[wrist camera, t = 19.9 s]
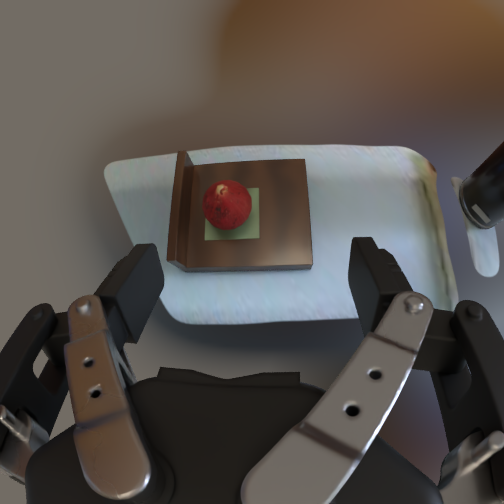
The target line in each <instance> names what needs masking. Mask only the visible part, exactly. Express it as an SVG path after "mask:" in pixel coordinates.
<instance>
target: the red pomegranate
mask: <svg viewBox="0 0 504 504" xmlns="http://www.w3.org/2000/svg"><path fill="white" fill-rule="evenodd" d="M202 209H203V212H204V215H205V218H206V219H207V220H208V221H209V222H210V223H211V224H212V225H213V226H214V227H216V228H219V229H221V230H232V229H235V228H237V227H239V226H241V225H242V224H243V223H244V222H245V221H246V220H247V219H248V217H249V215H250V212H251V210H252V198H251V196H250V194H249V192H248V190H247V189H246V188H245V187H244V186H243V185H241V184H240V183H238V182H236V181H232V180H222V181H219V182H216V183H214V184H212V185H211V186H210V187H209V188H208V189H207V190H206V192H205V194H204V196H203V203H202Z"/></svg>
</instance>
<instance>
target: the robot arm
mask: <svg viewBox="0 0 504 504" xmlns="http://www.w3.org/2000/svg"><path fill="white" fill-rule="evenodd" d="M459 194H460V201H461V205H462V207H463V210H464V212H465V213H466V215H467V217H468V218H469V219H470V220H471V221H472V222H473V223H474V224H475V225H476V226H478V227H480V228H483V229H489V228H491V227H493V226H495V225H496V224H497V223H499V222H500V221H502V220H504V142H503V143H502V144H501V145H500V146H499V147H498V148H497V149H496V150H495V151H494V152H493V153H492V154H491V155H490V156H489V157H488V158H487V159H486V160H485V161H484V162H483V163H482V164H481V165H480V166H479V167H478V168H477V169H476V171H474V172H473V173H472V174H471V175H470V176H469V177H468V178H466V179H465V180H464V181H463V182H462V184H461V186H460V192H459ZM348 281H349V287H350V290H351V293H352V296H353V300H354V303H355V306H356V310H357V313H358V316H359V320H360V323H361V327H362V330H363V334H364V340H363V341H362V343H361V344H360V346H359V347H358V349H357V350H356V351H355V353H354V354H353V356H352V357H351V359H350V360H349V361H348V363H347V364H346V366H345V367H344V368H343V370H342V371H341V373H340V374H339V375H338V377H337V378H336V379H335V381H334V382H333V383H332V385H331V386H330V387H329V388H328V390H327V391H325V390H324V389H322V388H319V387H317V386H314V385H311V384H307V383H302V382H300V372H274V373H259V374H254V375H249V376H243V377H238V378H232V379H222V378H218V377H214V376H211V375H207V374H204V373H201V372H197V371H194V370H188V369H175V368H166V367H160V369H159V372H158V375H157V377H153V378H148V379H145V380H142V381H139V382H137V380H136V377H135V375H134V372H133V370H132V367H131V365H130V362H129V359H128V356H127V354H126V352H125V350H124V347H123V346H124V344H125V342H126V343H135V344H137V342H138V340H139V338H140V335H141V333H142V331H143V329H144V327H145V325H146V323H147V320H148V318H149V316H150V314H151V312H152V310H153V308H154V306H155V304H156V302H157V300H158V298H159V296H160V294H161V292H162V290H163V287H164V274H163V270H162V267H161V263H160V259H159V256H158V252H157V248H156V246H155V245H154V244H153V243H151V244H137V245H135V247H134V248H133V249H132V250H131V252H130V253H129V255H128V256H126V257H124V258H123V259H121V260H120V261H119V262H117V264H116V265H115V266H114V268H113V269H112V271H111V272H110V273H109V274H108V277H106V278H105V279H104V281H103V282H102V283H101V285H100V286H99V288H98V289H97V291H96V292H95V293H94V294H93V295H86V296H82V297H81V298H78V299H77V300H75V301H74V302H73V303H72V304H71V305H70V307H69V308H68V311H67V312H62V313H56V314H55V312H54V310H53V308H52V306H51V305H50V304H47V303H43V304H39V305H37V306H35V307H33V308H32V309H31V310H30V311H29V312H28V313H27V314H26V316H25V317H24V318H23V320H22V321H21V323H20V324H19V326H18V327H17V328H16V330H15V331H14V333H13V334H12V336H11V337H10V339H9V340H8V342H7V343H6V345H5V346H4V348H3V349H2V351H1V353H0V472H1V473H2V474H4V475H6V476H9V477H10V478H12V479H14V480H15V481H17V482H19V483H20V484H23V485H25V488H26V499H27V504H504V340H503V338H502V336H501V334H500V332H499V330H498V328H497V327H496V325H495V323H494V321H493V320H492V318H491V316H490V314H489V313H488V311H487V310H486V309H485V308H484V307H483V306H482V305H481V304H479V303H477V302H475V301H470V300H463V301H460V302H459V303H458V304H457V305H456V307H455V310H454V312H452V311H445V310H438V309H434V308H433V304H432V302H431V301H430V300H429V299H428V298H427V297H426V296H424V295H422V294H420V293H418V292H414V291H413V289H412V288H411V286H410V284H409V282H408V280H407V279H406V277H405V275H404V273H403V272H401V268H400V267H399V265H398V263H397V262H396V260H395V258H394V257H393V255H392V254H390V253H389V252H388V251H386V250H385V249H378V247H377V245H376V244H375V242H374V240H373V238H372V237H353V239H352V243H351V252H350V261H349V270H348ZM41 349H42V350H43V351H44V353H45V354H46V356H47V357H48V358H49V360H48V362H47V363H46V365H45V367H44V369H43V371H42V373H41V374H40V376H39V378H37V377H36V376H35V374H34V372H33V363H34V361H35V359H36V357H37V356H38V354H39V352H40V350H41ZM467 364H468V367H469V369H470V372H471V374H470V372H469V369H468V367H467ZM411 369H417V370H425V371H430V374H431V377H432V381H433V384H434V388H435V391H436V395H437V399H438V402H439V406H440V410H441V414H442V419H443V423H444V427H445V432H446V437H447V441H448V447H449V452H450V453H448V454H447V456H446V457H445V458H444V460H443V462H442V465H441V476H440V481H439V484H438V486H436V485H435V483H433V481H432V480H431V479H429V478H428V477H427V476H426V475H425V474H423V473H422V472H421V471H419V470H418V469H417V468H416V467H415V466H414V465H412V464H411V463H410V462H409V461H408V460H407V459H405V458H404V457H403V456H402V455H401V454H399V453H398V452H397V451H396V450H395V449H393V448H392V447H391V446H390V445H389V444H388V443H387V442H386V441H384V440H383V439H382V438H381V437H380V436H379V435H378V432H379V430H380V429H381V427H382V425H383V423H384V422H385V420H386V418H387V416H388V415H389V413H390V411H391V409H392V407H393V405H394V403H395V401H396V399H397V398H398V396H399V393H400V392H401V390H402V388H403V386H404V383H405V381H406V379H407V377H408V375H409V373H410V371H411ZM68 390H69V392H70V398H71V404H72V408H73V413H74V418H75V424H74V425H72V426H71V427H69V428H68V429H66V430H65V431H64V432H62V433H60V434H59V435H57V436H56V437H54V438H53V439H52V440H50V441H49V437H50V435H51V432H52V429H53V427H54V424H55V421H56V419H57V417H58V414H59V411H60V409H61V407H62V404H63V402H64V400H65V397H66V395H67V393H68Z"/></svg>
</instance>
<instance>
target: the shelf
mask: <svg viewBox="0 0 504 504" xmlns="http://www.w3.org/2000/svg"><path fill="white" fill-rule="evenodd" d="M222 180H232V181H236V182H238V183H240V184H241V185H243V186H244V187H245V188H246V189H247V190H248V192H249V194H250V196H251V198H252V210H251V212H250V215H249V217H248V219H247V220H246V221H245V222H244V223H243V224H242V225H241V226H239V227H237V228H235V229H232V230H221V229H219V228H216V227H214V226H213V225H212V224H211V223H210V222H209V221H208V220H207V219H206V218H205V215H204V212H203V209H202V203H203V196H204V194H205V192H206V190H207V189H208V188H209V187H210V186H211V185H212V184H214V183H216V182H219V181H222ZM167 261H168V262H170V263H171V264H173V265H175V266H176V267H178V268H180V269H181V270H183V271H185V272H220V271H268V270H304V269H311V267H312V265H313V256H312V239H311V223H310V210H309V197H308V186H307V175H306V165H305V159H281V160H258V161H241V162H227V163H215V164H204V165H193V163H192V161H191V159H190V157H189V155H188V153H187V152H186V151H179V152H178V154H177V162H176V169H175V177H174V185H173V194H172V203H171V212H170V223H169V235H168V247H167Z"/></svg>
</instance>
